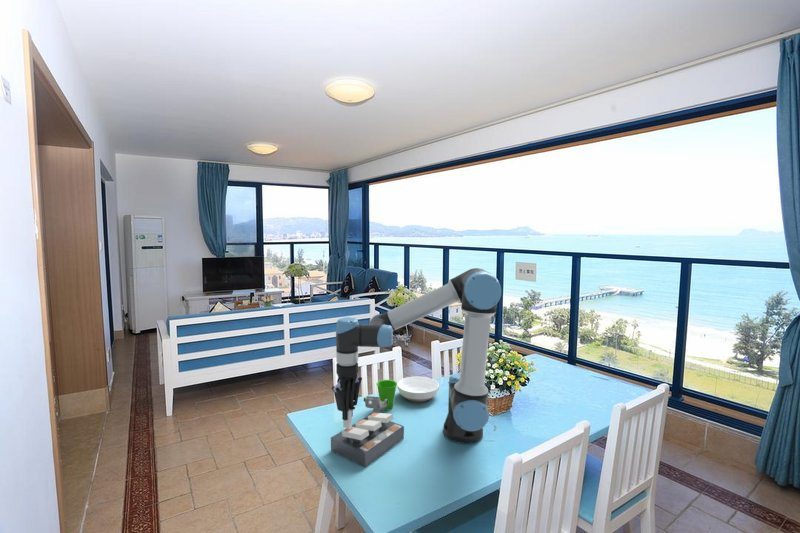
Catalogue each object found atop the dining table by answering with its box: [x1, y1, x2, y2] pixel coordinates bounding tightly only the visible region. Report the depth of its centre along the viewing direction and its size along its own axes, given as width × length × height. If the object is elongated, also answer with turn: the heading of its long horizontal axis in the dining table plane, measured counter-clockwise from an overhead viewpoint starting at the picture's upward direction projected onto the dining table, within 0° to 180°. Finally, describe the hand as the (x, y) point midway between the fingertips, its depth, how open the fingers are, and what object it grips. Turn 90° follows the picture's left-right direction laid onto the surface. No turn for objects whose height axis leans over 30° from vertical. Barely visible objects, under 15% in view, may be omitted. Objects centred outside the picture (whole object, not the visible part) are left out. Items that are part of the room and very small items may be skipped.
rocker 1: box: [342, 427, 369, 440], centre depth 136 cm, size 9×4×2 cm, turn 54°
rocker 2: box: [354, 419, 382, 431], centre depth 141 cm, size 9×4×2 cm, turn 54°
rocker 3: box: [367, 412, 394, 423], centre depth 147 cm, size 9×4×2 cm, turn 54°
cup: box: [376, 379, 398, 411], centre depth 171 cm, size 9×9×11 cm
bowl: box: [396, 375, 440, 403], centre depth 183 cm, size 20×20×6 cm
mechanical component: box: [363, 395, 389, 413], centre depth 158 cm, size 3×10×10 cm, turn 78°
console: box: [330, 413, 405, 468], centre depth 142 cm, size 16×22×6 cm
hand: (347, 427), depth 138 cm, fingers closed
